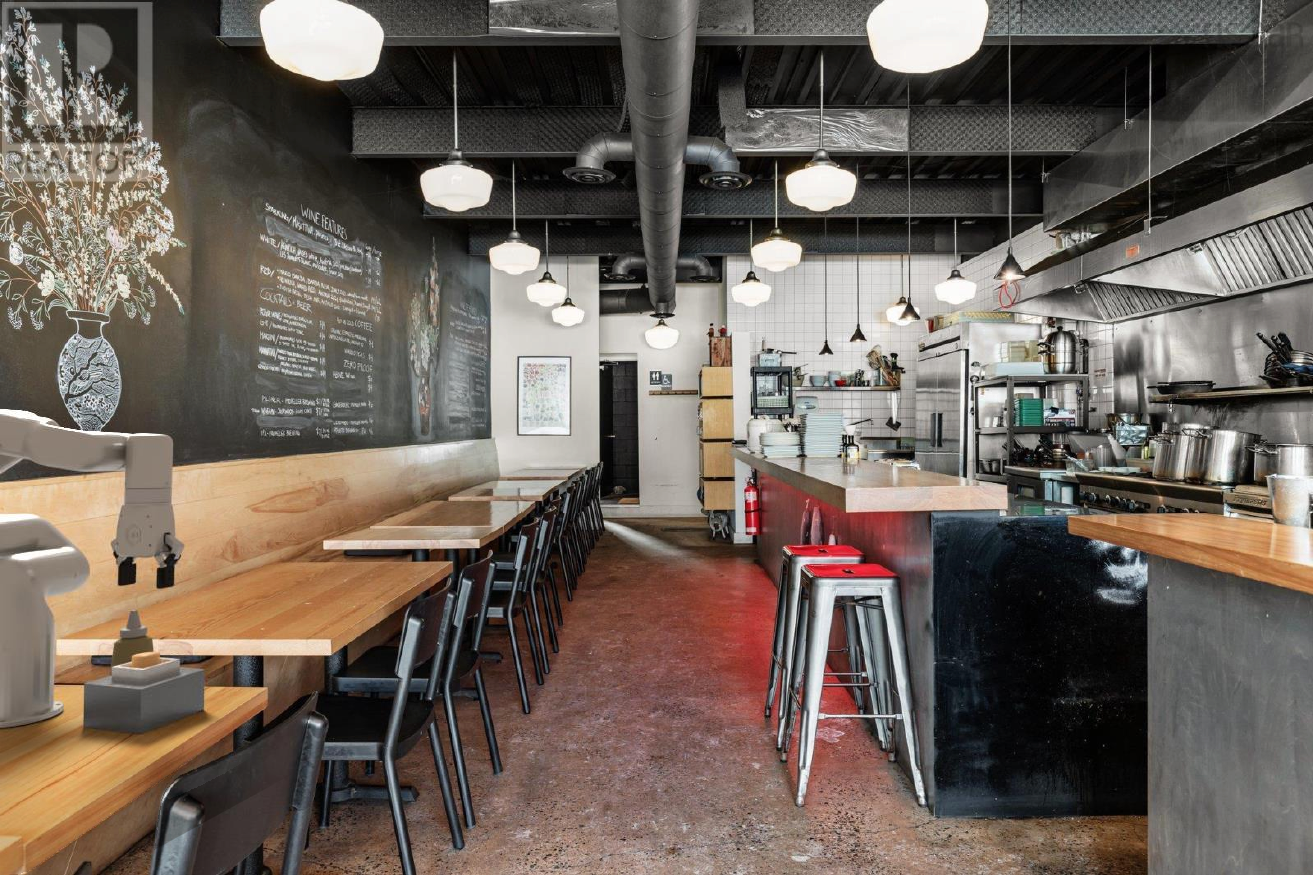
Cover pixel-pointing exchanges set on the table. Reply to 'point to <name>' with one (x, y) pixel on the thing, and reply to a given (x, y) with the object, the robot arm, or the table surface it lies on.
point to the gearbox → (143, 697)
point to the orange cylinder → (145, 659)
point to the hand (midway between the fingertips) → (145, 586)
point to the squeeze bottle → (131, 641)
